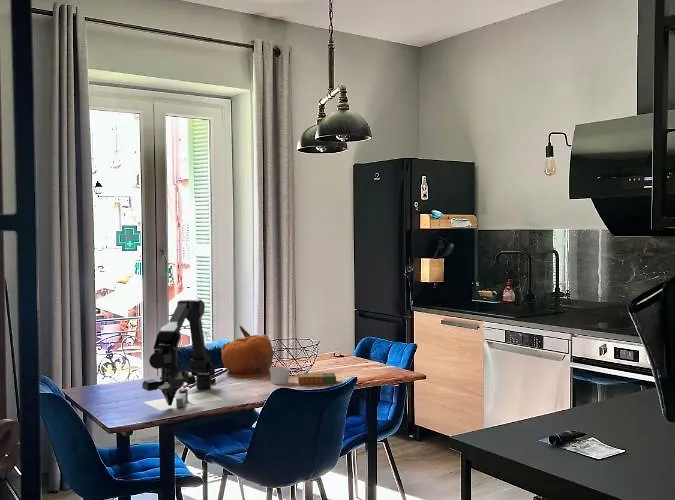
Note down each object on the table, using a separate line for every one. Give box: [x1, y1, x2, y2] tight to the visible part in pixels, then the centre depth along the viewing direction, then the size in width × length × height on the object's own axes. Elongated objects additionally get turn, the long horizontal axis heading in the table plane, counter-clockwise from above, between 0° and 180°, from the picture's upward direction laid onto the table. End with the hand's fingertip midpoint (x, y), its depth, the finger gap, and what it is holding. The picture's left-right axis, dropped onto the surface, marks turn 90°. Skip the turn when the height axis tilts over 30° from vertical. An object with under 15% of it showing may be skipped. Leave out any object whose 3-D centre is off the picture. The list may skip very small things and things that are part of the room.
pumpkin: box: [220, 324, 275, 379], centre depth 316 cm, size 22×25×23 cm
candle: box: [269, 366, 291, 385], centre depth 295 cm, size 9×9×6 cm
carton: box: [297, 372, 338, 387], centre depth 293 cm, size 8×16×4 cm, turn 96°
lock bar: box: [176, 388, 189, 408], centre depth 256 cm, size 13×3×4 cm, turn 6°
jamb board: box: [142, 391, 224, 411], centre depth 261 cm, size 16×26×1 cm, turn 128°
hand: (169, 405), depth 250 cm, fingers closed
